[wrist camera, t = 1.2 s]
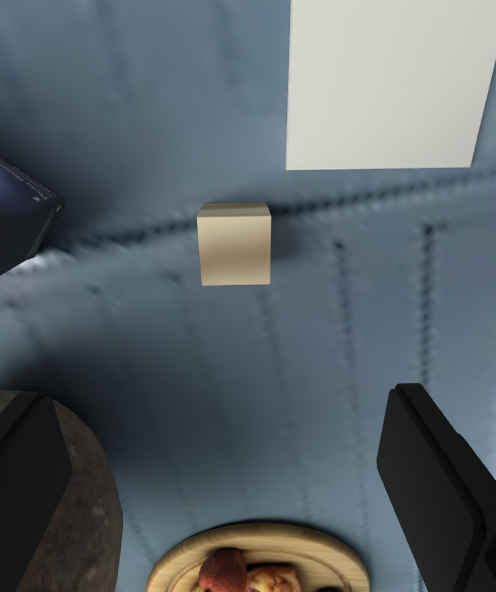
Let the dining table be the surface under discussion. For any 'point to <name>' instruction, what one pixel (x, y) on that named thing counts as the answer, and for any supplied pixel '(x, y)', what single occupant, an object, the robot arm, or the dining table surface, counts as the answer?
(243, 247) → the maple cube
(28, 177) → the small box
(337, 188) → the dining table surface
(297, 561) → the wooden plate with food
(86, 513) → the clay pot
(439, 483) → the robot arm
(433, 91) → the off-white board
